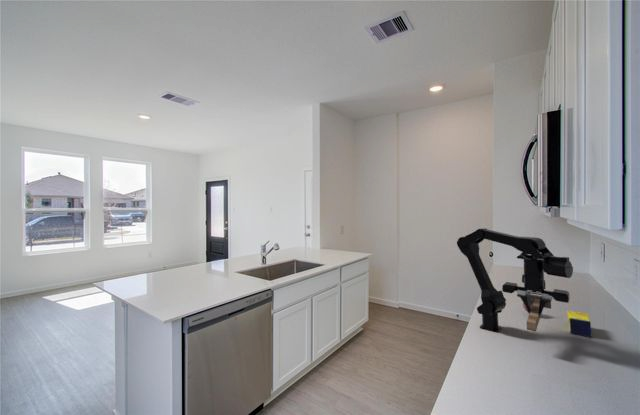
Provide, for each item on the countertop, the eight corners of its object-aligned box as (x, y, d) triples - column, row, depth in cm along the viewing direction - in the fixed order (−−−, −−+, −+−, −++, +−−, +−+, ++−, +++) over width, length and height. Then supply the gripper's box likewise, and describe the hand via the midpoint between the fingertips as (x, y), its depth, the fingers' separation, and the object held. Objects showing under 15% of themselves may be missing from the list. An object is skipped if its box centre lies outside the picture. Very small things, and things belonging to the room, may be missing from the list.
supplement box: (569, 333, 105) (567, 324, 113) (591, 337, 101) (587, 328, 109) (569, 318, 105) (567, 310, 113) (590, 321, 101) (587, 313, 109)
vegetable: (536, 312, 126) (535, 291, 127) (542, 317, 121) (541, 295, 121) (520, 311, 128) (519, 290, 129) (526, 316, 122) (525, 294, 123)
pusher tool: (544, 333, 89) (544, 322, 89) (518, 327, 94) (518, 316, 94) (551, 307, 104) (550, 297, 104) (528, 303, 109) (528, 293, 109)
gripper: (569, 272, 97) (571, 315, 97) (507, 265, 110) (509, 303, 110) (567, 278, 89) (569, 325, 89) (501, 270, 103) (502, 310, 102)
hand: (534, 315), depth 98 cm, fingers closed on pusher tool, 2 cm apart
